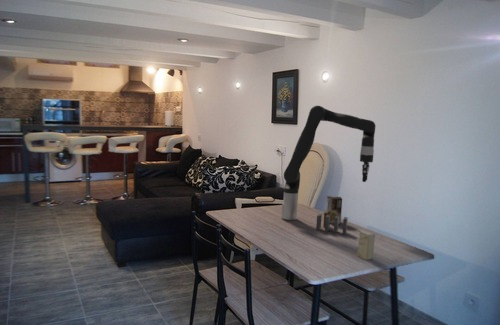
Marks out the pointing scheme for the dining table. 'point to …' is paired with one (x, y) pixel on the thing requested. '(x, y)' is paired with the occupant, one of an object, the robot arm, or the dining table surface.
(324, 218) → the domino
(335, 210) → the coffee box
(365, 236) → the skincare box
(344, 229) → the domino
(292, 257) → the dining table surface
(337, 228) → the domino
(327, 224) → the domino
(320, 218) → the domino
